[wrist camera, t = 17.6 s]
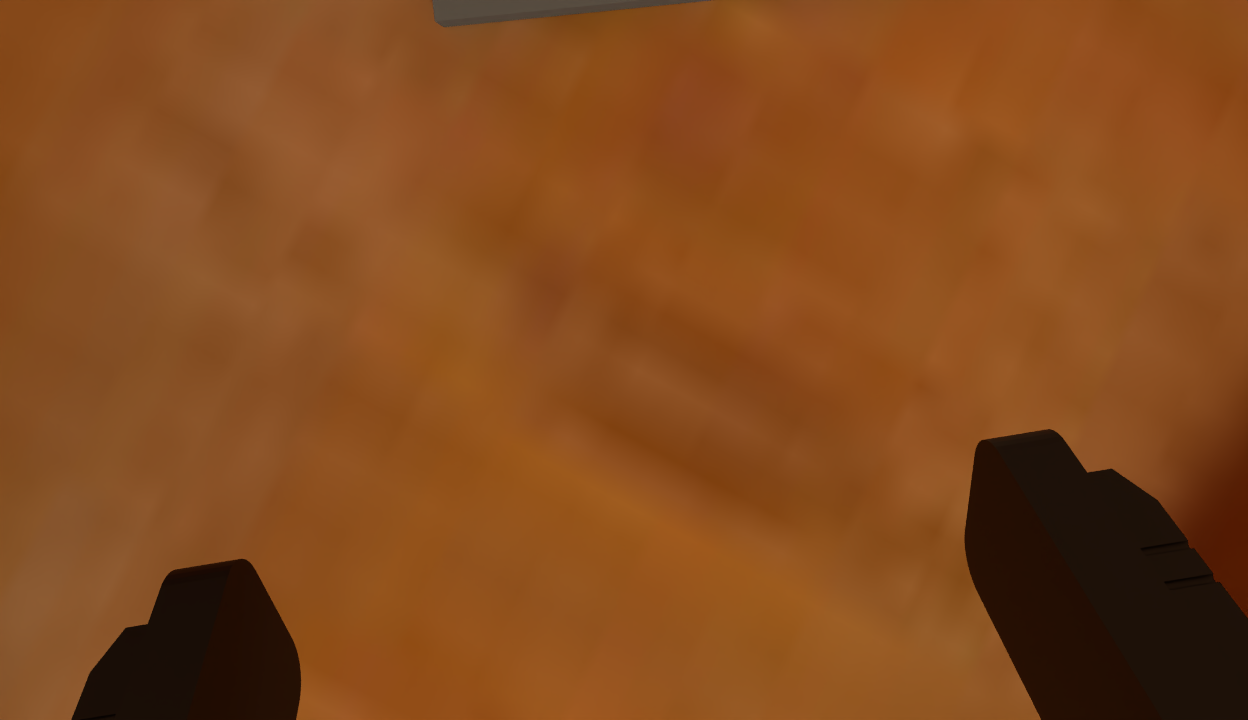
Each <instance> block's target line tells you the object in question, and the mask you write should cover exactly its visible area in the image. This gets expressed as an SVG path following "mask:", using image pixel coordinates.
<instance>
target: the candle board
mask: <svg viewBox="0 0 1248 720" xmlns="http://www.w3.org/2000/svg"><path fill="white" fill-rule="evenodd" d="M699 1H709V0H433V9H434V17H435V22H437V23H438V24H440V25H441V26H443V27H450V26H460V25H470V24H480V23H489V22H499V21H509V20H519V19H529V18H539V17H549V16H559V15H569V14H579V13H589V12H599V11H609V10H619V9H629V8H639V7H649V6H659V5H669V4H679V3H689V2H699Z"/></svg>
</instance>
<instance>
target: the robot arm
mask: <svg viewBox="0 0 1248 720" xmlns="http://www.w3.org/2000/svg"><path fill="white" fill-rule="evenodd" d="M965 551H966V558H967V562H968V567H969V570H970V574H971V577H972V580H973V583H974V585H975V588H976V590H977V592H978V594H979V596H980V598H981V600H982V602H983V604H984V606H985V608H986V610H987V612H988V614H989V616H990V618H991V620H992V622H993V624H994V626H995V628H996V630H997V632H998V634H999V636H1000V638H1001V640H1002V642H1003V644H1004V646H1005V648H1006V650H1007V652H1008V654H1009V656H1010V658H1011V660H1012V662H1013V664H1014V666H1015V668H1016V670H1017V672H1018V674H1019V676H1020V678H1021V680H1022V682H1023V684H1024V686H1025V688H1026V690H1027V692H1028V694H1029V696H1030V698H1031V700H1032V702H1033V704H1034V706H1035V708H1036V710H1037V712H1038V714H1039V716H1040V718H1041V720H1248V619H1247V617H1246V616H1245V615H1244V613H1243V612H1242V611H1241V609H1240V608H1239V607H1238V605H1237V604H1236V603H1235V601H1234V600H1233V599H1232V598H1231V596H1230V595H1229V594H1228V592H1227V591H1226V590H1225V588H1224V587H1223V586H1222V584H1221V583H1220V582H1217V583H1216V582H1215V580H1214V578H1213V573H1212V571H1211V570H1210V569H1209V567H1208V566H1207V565H1206V563H1205V562H1204V561H1203V559H1202V558H1201V557H1200V555H1199V554H1198V553H1197V552H1196V550H1195V549H1194V548H1192V549H1190V548H1189V546H1188V540H1187V538H1186V537H1185V536H1184V534H1183V533H1182V532H1181V531H1180V529H1179V528H1178V527H1177V525H1176V524H1175V523H1174V521H1173V520H1172V519H1171V517H1170V516H1169V515H1168V513H1167V512H1166V511H1165V510H1164V508H1163V507H1162V506H1161V504H1160V503H1159V502H1158V500H1156V499H1155V498H1154V497H1152V496H1151V495H1149V494H1148V493H1146V492H1145V491H1143V490H1142V489H1141V488H1139V487H1138V486H1136V485H1135V484H1133V483H1132V482H1130V481H1129V480H1127V479H1126V478H1125V477H1123V476H1122V475H1120V474H1119V473H1117V472H1116V471H1114V470H1113V469H1107V470H1101V471H1095V472H1089V473H1087V472H1086V470H1085V469H1084V467H1083V466H1082V465H1081V463H1080V462H1079V460H1078V459H1077V457H1076V456H1075V455H1074V453H1073V452H1072V450H1071V449H1070V447H1069V446H1068V445H1067V443H1066V442H1065V440H1064V439H1063V438H1062V437H1061V436H1060V435H1059V434H1058V433H1057V432H1055V431H1054V430H1050V429H1047V430H1041V431H1035V432H1029V433H1023V434H1017V435H1011V436H1004V437H998V438H992V439H986V440H982V441H980V442H979V443H978V445H977V448H976V451H975V457H974V465H973V472H972V480H971V488H970V496H969V504H968V511H967V519H966V527H965ZM300 692H301V672H300V663H299V658H298V654H297V650H296V647H295V644H294V642H293V640H292V638H291V636H290V634H289V632H288V630H287V628H286V626H285V624H284V623H283V621H282V619H281V617H280V615H279V613H278V611H277V610H276V608H275V606H274V604H273V602H272V600H271V598H270V596H269V595H268V593H267V591H266V589H265V587H264V585H263V583H262V582H261V580H260V578H259V576H258V574H257V572H256V570H255V569H254V567H253V566H252V564H251V563H250V562H249V561H247V560H245V559H238V560H232V561H226V562H219V563H213V564H207V565H201V566H195V567H189V568H183V569H177V570H173V571H171V572H170V573H169V574H168V575H167V576H166V578H165V579H164V581H163V583H162V586H161V588H160V591H159V594H158V597H157V599H156V602H155V605H154V608H153V611H152V614H151V616H150V619H149V622H148V624H146V625H140V626H134V627H128V628H125V629H124V631H123V632H122V633H121V634H120V636H119V637H118V638H117V639H116V641H115V642H114V643H113V644H112V646H111V647H110V648H109V649H108V651H107V652H106V653H105V654H104V656H103V657H102V658H101V659H100V661H99V662H98V663H97V665H96V666H95V667H94V668H93V670H92V671H91V672H90V674H89V676H88V679H87V681H86V684H85V687H84V689H83V692H82V694H81V697H80V699H79V702H78V704H77V707H76V709H75V712H74V714H73V717H72V720H296V717H297V711H298V706H299V700H300Z"/></svg>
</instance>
